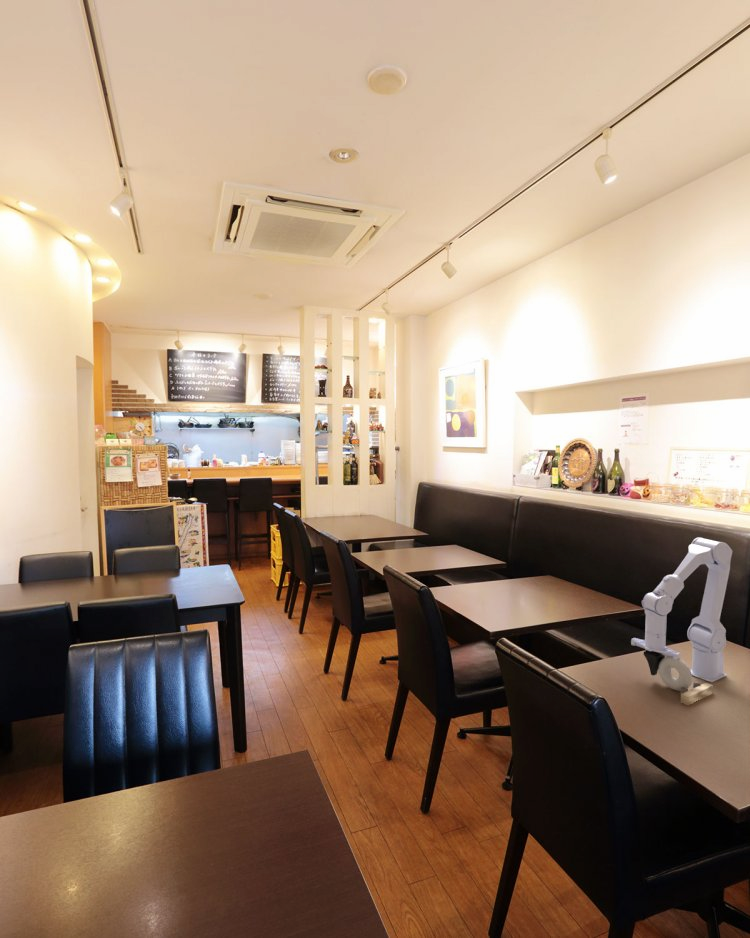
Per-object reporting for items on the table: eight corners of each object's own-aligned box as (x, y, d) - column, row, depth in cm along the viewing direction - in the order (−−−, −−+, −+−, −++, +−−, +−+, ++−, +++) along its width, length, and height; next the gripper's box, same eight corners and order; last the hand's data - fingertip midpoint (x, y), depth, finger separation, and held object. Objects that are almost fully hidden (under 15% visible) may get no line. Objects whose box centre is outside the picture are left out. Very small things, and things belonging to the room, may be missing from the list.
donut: (693, 695, 155) (695, 662, 154) (686, 697, 153) (688, 664, 153) (662, 681, 164) (663, 650, 163) (654, 683, 162) (656, 651, 161)
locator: (699, 688, 159) (699, 678, 159) (712, 693, 156) (713, 683, 156) (674, 700, 152) (674, 690, 151) (687, 705, 148) (688, 695, 148)
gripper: (626, 627, 167) (624, 668, 168) (671, 642, 155) (670, 686, 155) (639, 623, 171) (637, 663, 172) (684, 637, 158) (682, 681, 159)
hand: (653, 674), depth 164 cm, fingers closed
